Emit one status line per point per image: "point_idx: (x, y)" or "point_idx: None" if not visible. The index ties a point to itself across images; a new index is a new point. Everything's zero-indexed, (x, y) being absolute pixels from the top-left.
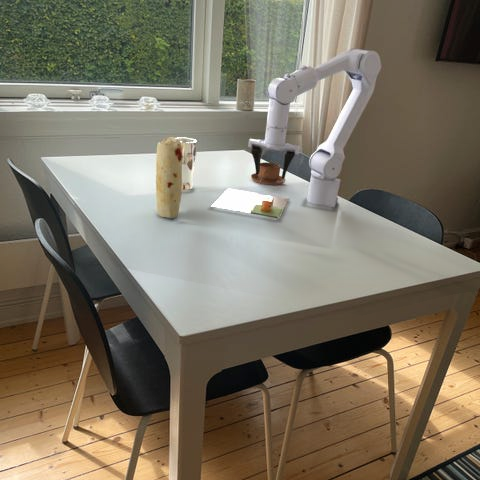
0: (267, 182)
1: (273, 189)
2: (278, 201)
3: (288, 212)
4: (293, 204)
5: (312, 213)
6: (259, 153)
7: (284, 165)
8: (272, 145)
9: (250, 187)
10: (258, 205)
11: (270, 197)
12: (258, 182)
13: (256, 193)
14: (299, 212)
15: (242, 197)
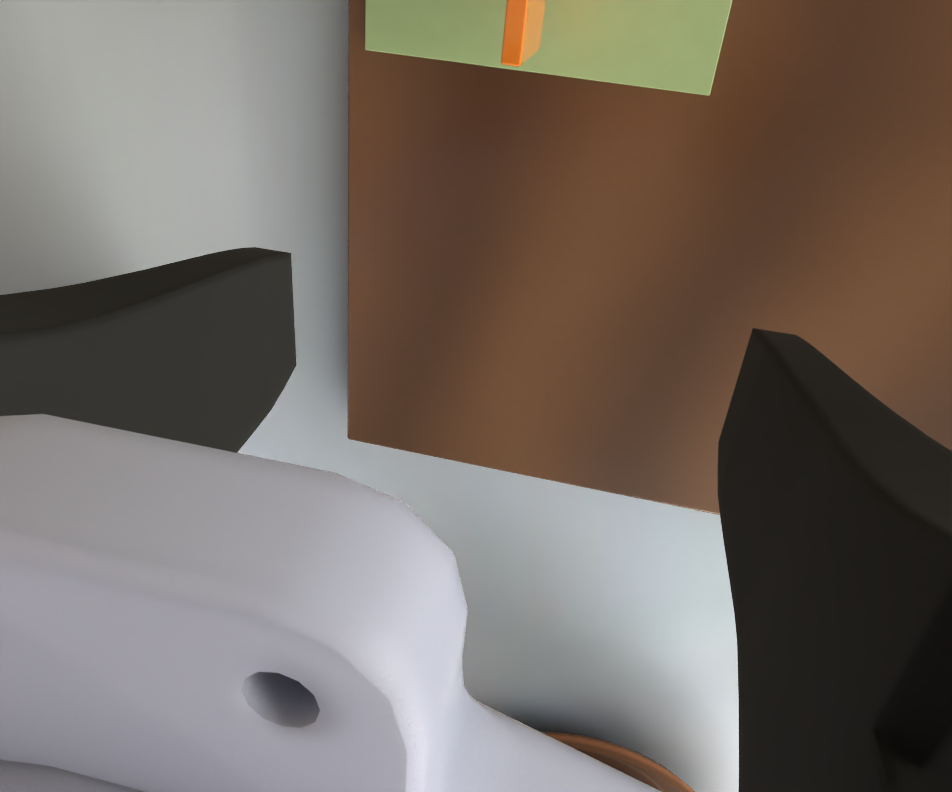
0: (576, 746)
1: (521, 683)
2: (438, 317)
3: (309, 80)
4: (305, 363)
5: (88, 155)
6: (882, 620)
7: (108, 309)
8: (90, 632)
9: (732, 694)
10: (674, 38)
11: (503, 40)
12: (658, 764)
13: (686, 495)
14: (205, 132)
15: (874, 316)
